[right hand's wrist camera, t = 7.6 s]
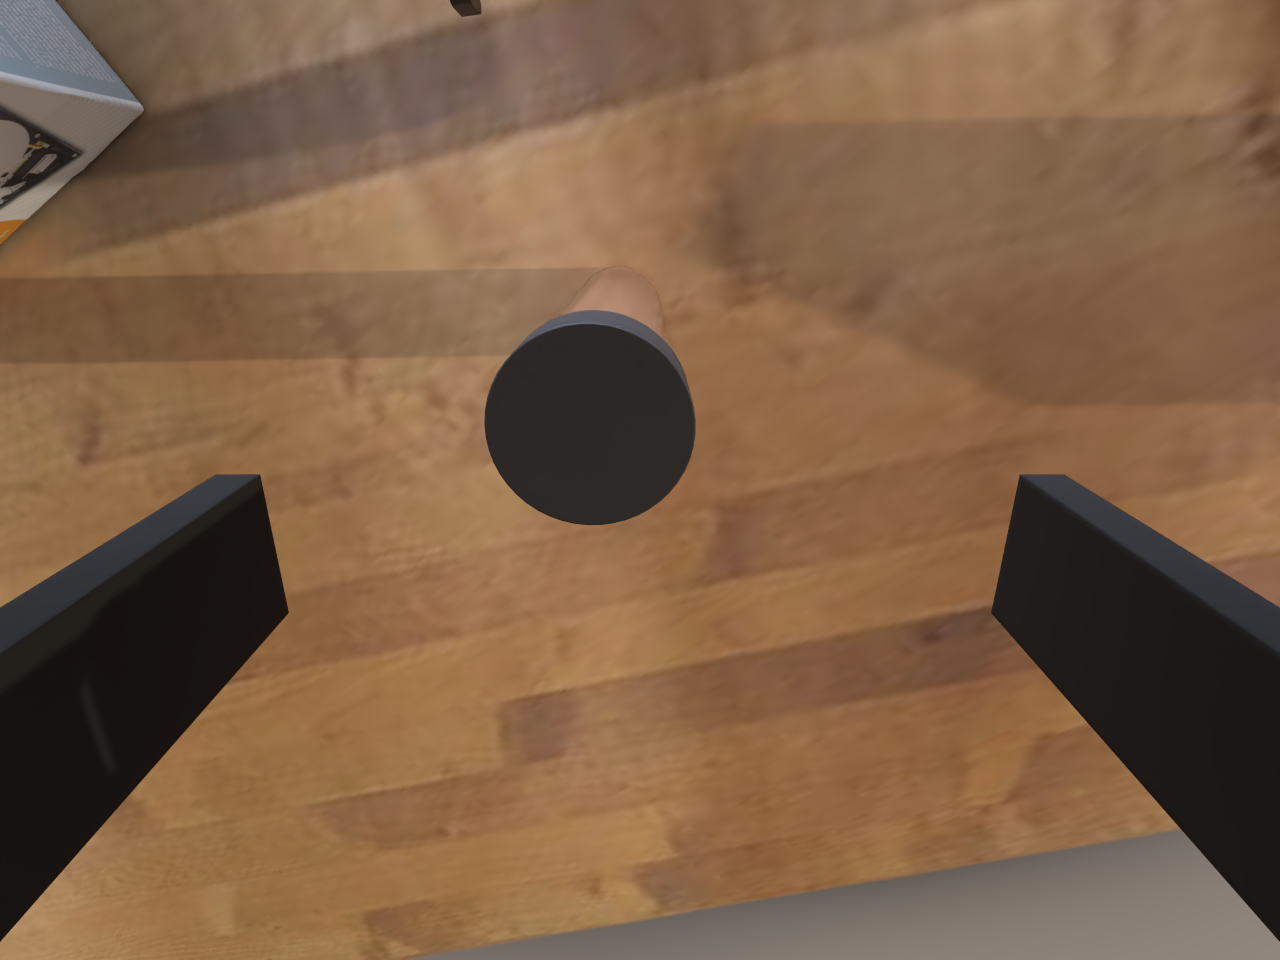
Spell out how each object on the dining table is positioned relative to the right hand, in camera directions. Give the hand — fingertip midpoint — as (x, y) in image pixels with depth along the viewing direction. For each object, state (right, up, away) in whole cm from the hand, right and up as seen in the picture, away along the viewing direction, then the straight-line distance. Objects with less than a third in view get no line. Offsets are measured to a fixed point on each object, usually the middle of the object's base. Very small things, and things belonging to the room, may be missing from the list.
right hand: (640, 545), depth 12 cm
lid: (-1, +2, +4) cm, 5 cm away
